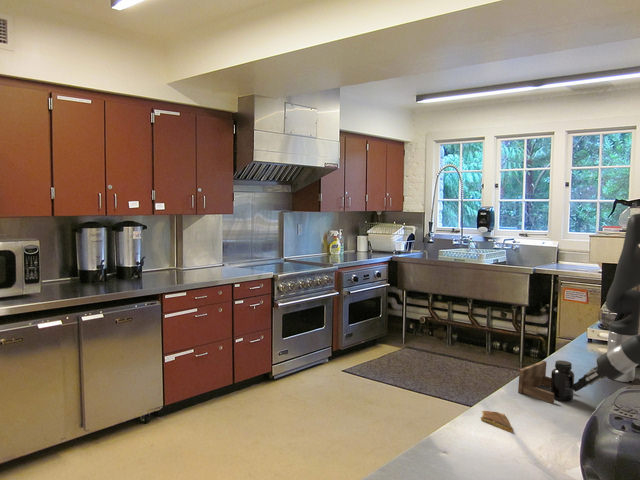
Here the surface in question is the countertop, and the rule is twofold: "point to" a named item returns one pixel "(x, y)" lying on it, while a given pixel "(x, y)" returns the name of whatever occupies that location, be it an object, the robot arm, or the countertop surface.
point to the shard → (497, 420)
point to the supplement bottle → (562, 381)
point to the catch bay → (535, 382)
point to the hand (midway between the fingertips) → (573, 388)
